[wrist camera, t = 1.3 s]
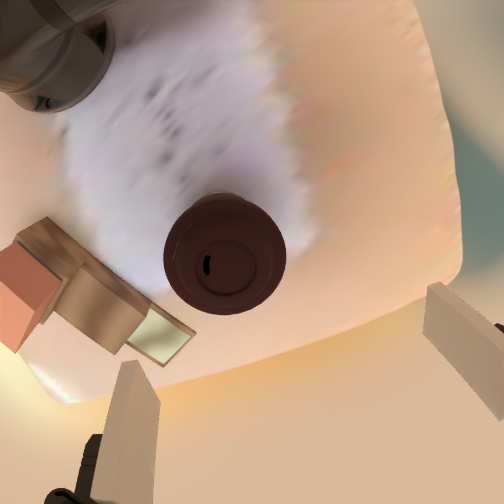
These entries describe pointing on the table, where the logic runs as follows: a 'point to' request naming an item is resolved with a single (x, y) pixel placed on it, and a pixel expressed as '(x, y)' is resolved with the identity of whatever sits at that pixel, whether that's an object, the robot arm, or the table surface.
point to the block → (23, 293)
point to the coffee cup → (224, 255)
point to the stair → (102, 299)
